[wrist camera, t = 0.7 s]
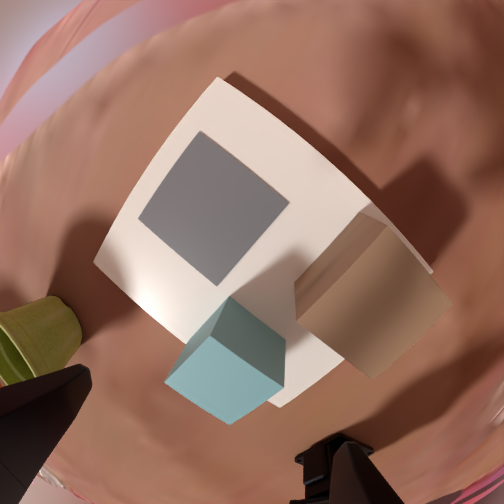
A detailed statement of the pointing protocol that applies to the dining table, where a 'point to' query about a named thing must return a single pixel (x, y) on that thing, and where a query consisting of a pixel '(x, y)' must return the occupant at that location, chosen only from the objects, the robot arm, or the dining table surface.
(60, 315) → the plant pot
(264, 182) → the board
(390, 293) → the walnut block
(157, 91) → the dining table surface
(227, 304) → the teal cube
